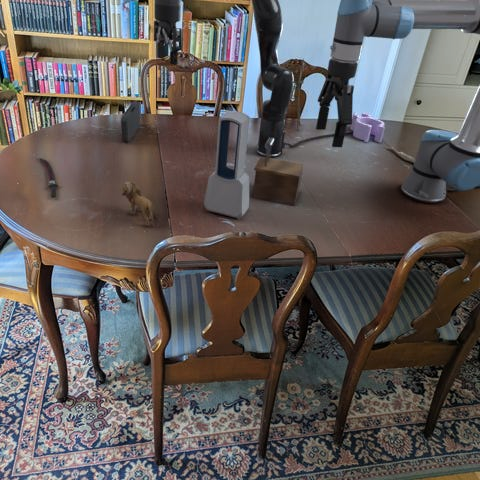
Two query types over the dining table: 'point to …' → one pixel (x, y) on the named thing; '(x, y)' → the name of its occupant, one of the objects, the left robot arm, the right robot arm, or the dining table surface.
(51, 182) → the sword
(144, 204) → the lion figurine
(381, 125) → the clip
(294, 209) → the dining table surface
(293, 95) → the miniature windmill
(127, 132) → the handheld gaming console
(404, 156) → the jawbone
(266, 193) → the chest
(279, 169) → the lid
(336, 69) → the right robot arm
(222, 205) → the electronic device
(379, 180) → the dining table surface
